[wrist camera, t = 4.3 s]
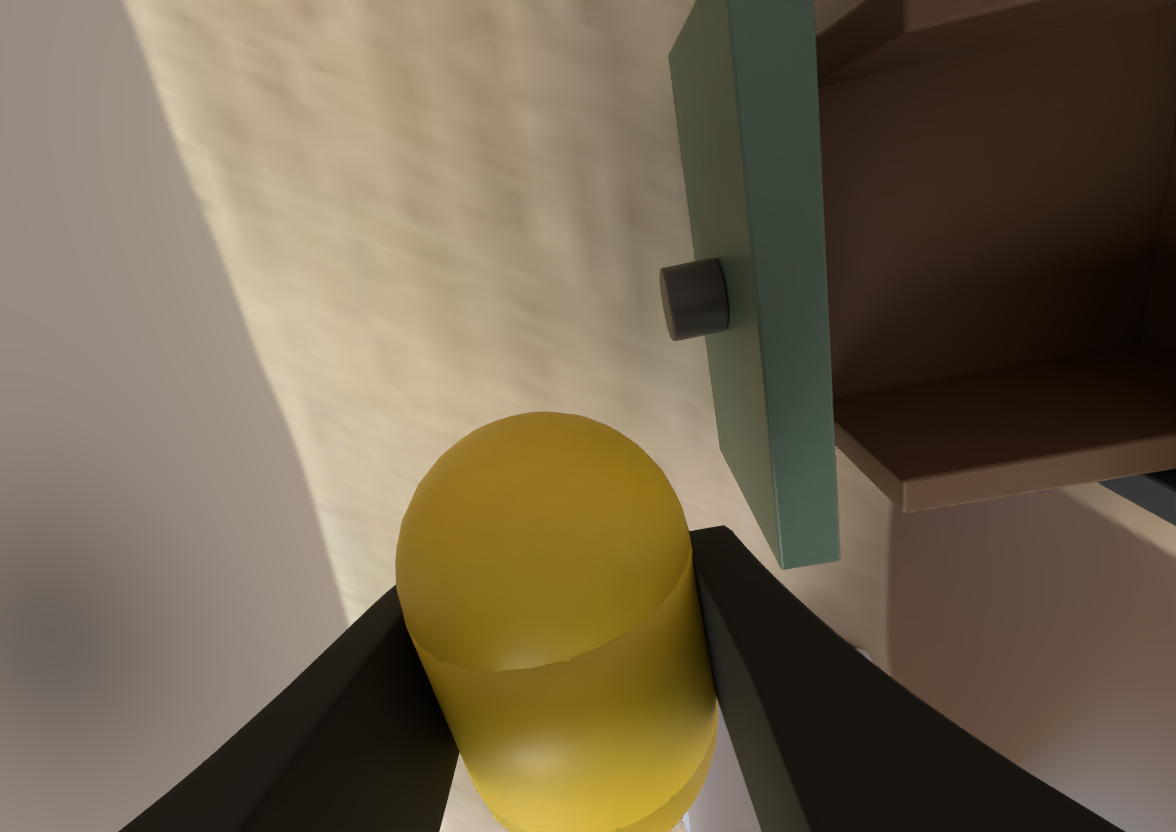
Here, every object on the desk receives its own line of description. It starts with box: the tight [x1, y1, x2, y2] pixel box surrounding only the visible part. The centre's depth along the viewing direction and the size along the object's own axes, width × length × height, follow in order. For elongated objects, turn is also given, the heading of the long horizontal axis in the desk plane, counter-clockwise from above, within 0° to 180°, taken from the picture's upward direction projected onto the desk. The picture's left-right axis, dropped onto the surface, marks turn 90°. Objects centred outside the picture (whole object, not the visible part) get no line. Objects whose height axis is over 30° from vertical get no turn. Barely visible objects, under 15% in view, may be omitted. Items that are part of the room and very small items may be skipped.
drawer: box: [660, 0, 1176, 570], centre depth 11 cm, size 13×10×6 cm
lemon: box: [395, 412, 718, 832], centre depth 8 cm, size 7×4×4 cm, turn 12°
